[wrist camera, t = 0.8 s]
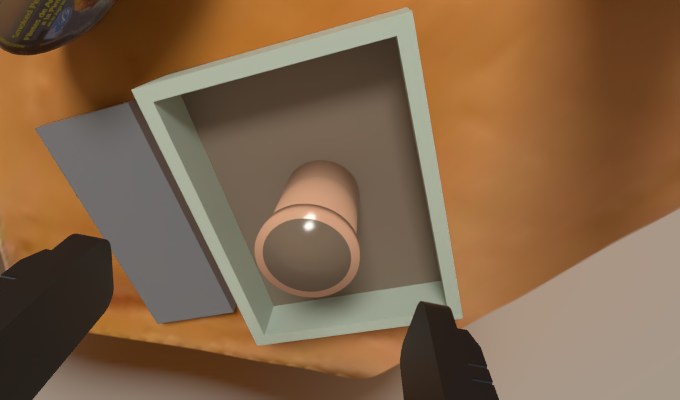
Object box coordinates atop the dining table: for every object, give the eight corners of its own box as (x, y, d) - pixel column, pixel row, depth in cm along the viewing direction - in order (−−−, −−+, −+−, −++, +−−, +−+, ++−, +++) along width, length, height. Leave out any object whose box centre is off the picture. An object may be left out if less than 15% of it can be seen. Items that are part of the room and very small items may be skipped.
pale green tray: (406, 6, 25) (412, 10, 21) (452, 280, 34) (463, 318, 31) (165, 75, 28) (131, 89, 24) (269, 308, 38) (257, 345, 34)
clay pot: (352, 147, 28) (344, 201, 21) (371, 221, 31) (370, 289, 24) (271, 166, 30) (238, 222, 23) (296, 234, 32) (274, 304, 25)
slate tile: (135, 99, 29) (127, 102, 28) (236, 304, 38) (233, 312, 37) (44, 124, 31) (34, 128, 30) (162, 316, 39) (157, 323, 38)
